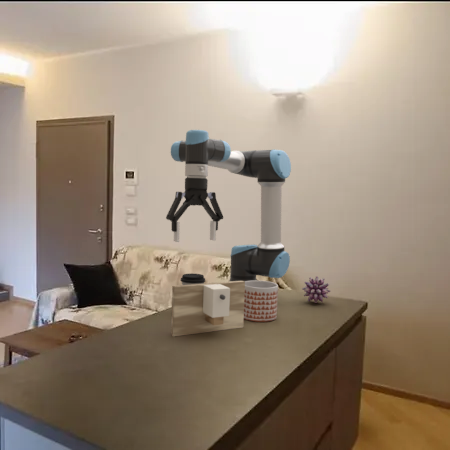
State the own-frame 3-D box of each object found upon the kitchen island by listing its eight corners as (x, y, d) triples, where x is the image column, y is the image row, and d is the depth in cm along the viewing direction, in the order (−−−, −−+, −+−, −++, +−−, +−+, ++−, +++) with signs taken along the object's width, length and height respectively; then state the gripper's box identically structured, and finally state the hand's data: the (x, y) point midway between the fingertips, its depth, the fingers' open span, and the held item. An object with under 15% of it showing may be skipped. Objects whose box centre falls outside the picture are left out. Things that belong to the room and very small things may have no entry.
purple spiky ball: (324, 300, 203) (326, 273, 202) (333, 307, 191) (334, 279, 190) (299, 299, 202) (300, 273, 201) (305, 306, 190) (307, 278, 189)
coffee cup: (201, 319, 167) (202, 278, 165) (176, 317, 168) (177, 276, 167) (206, 312, 176) (207, 274, 175) (182, 310, 177) (183, 272, 176)
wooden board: (171, 334, 148) (172, 285, 146) (240, 325, 160) (242, 280, 159) (180, 342, 141) (182, 291, 139) (252, 332, 153) (254, 285, 152)
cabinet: (202, 312, 150) (203, 285, 149) (218, 310, 153) (219, 283, 152) (214, 318, 143) (215, 290, 142) (230, 316, 146) (231, 288, 145)
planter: (237, 320, 166) (239, 286, 166) (242, 311, 180) (244, 279, 179) (275, 323, 164) (276, 288, 163) (277, 314, 178) (279, 281, 177)
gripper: (165, 176, 142) (164, 243, 144) (234, 178, 155) (232, 240, 157) (156, 176, 149) (156, 240, 151) (223, 178, 161) (221, 238, 163)
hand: (194, 240), depth 154 cm, fingers open, 13 cm apart
